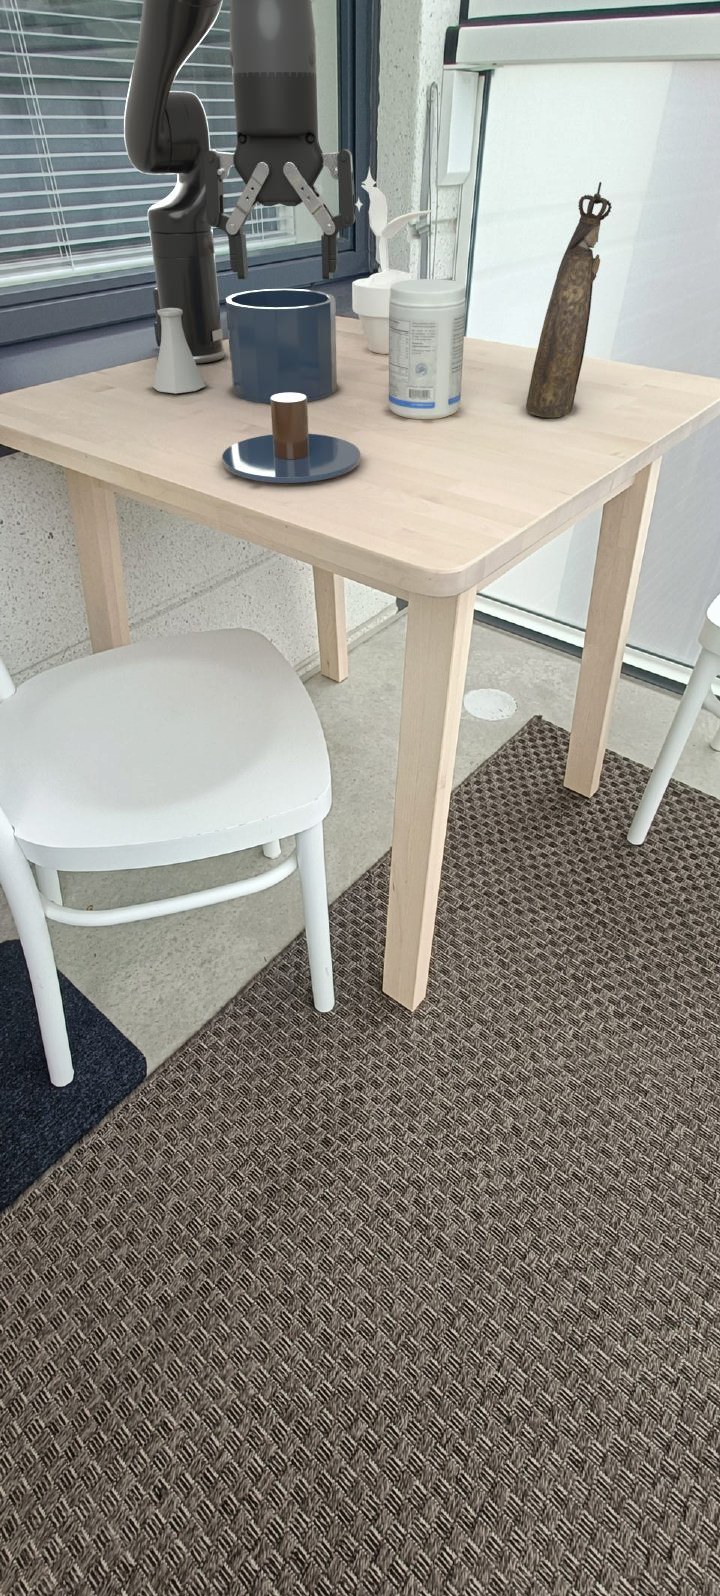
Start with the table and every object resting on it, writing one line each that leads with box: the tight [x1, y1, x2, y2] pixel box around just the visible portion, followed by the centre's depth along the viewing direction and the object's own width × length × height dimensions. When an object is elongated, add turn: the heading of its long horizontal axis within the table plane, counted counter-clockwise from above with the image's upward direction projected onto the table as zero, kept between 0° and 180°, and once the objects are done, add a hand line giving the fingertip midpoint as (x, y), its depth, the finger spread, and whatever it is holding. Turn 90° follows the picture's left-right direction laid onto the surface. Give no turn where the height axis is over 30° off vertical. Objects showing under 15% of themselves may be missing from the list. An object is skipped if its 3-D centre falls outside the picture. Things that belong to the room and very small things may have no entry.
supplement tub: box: [388, 278, 467, 420], centre depth 112 cm, size 10×10×15 cm
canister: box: [224, 288, 338, 404], centre depth 121 cm, size 15×15×12 cm
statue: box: [525, 181, 612, 419], centre depth 109 cm, size 9×8×25 cm
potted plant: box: [351, 166, 432, 355], centre depth 136 cm, size 13×12×25 cm
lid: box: [221, 393, 361, 484], centre depth 97 cm, size 16×16×7 cm
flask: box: [151, 308, 207, 394], centre depth 122 cm, size 7×7×10 cm
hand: (284, 278), depth 88 cm, fingers open, 8 cm apart
